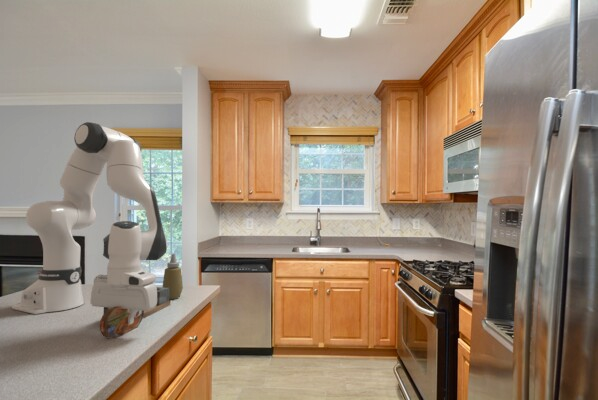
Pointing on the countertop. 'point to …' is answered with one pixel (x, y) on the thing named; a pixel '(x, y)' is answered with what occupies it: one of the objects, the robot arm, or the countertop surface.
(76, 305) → the robot arm
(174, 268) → the squeeze bottle
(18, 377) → the countertop surface
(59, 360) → the countertop surface
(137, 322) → the tin
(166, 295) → the stand
